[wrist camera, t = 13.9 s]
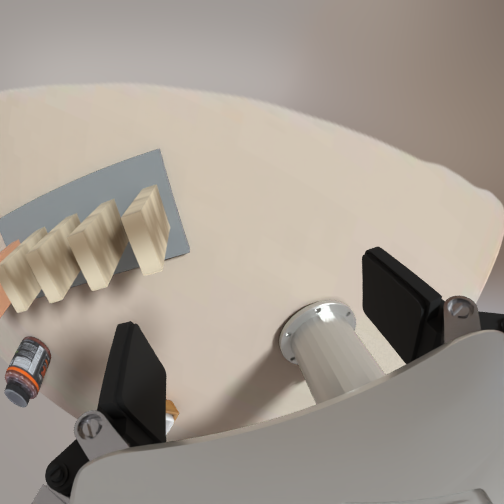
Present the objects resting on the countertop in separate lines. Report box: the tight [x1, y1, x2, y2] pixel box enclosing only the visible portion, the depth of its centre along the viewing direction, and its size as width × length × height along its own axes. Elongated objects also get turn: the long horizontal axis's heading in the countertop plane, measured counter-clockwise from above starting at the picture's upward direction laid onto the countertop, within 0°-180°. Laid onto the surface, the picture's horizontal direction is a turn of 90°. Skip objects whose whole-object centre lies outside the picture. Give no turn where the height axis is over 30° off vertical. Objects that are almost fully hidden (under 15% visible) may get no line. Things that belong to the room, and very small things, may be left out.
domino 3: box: [25, 213, 81, 303], centre depth 24 cm, size 5×2×10 cm, turn 12°
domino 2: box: [0, 227, 48, 313], centre depth 23 cm, size 5×2×10 cm, turn 12°
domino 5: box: [121, 184, 170, 276], centre depth 24 cm, size 5×2×10 cm, turn 12°
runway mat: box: [0, 149, 190, 299], centre depth 28 cm, size 12×24×1 cm, turn 102°
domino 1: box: [0, 239, 20, 318], centre depth 23 cm, size 5×2×10 cm, turn 12°
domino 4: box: [67, 199, 129, 291], centre depth 24 cm, size 5×2×10 cm, turn 12°
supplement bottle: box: [5, 337, 51, 407], centre depth 29 cm, size 6×6×11 cm
